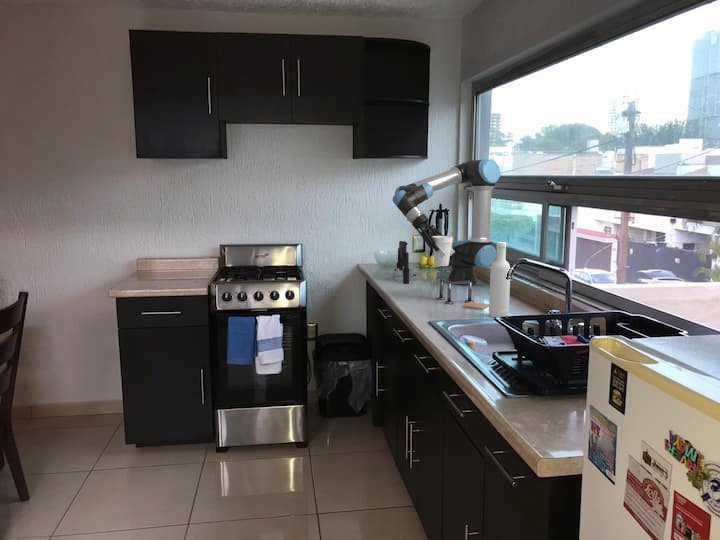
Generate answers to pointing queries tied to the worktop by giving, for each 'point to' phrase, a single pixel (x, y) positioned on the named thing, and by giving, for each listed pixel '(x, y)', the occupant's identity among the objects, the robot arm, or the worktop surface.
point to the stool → (403, 266)
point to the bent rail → (450, 291)
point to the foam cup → (445, 245)
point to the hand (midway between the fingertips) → (448, 254)
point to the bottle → (499, 284)
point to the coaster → (475, 305)
